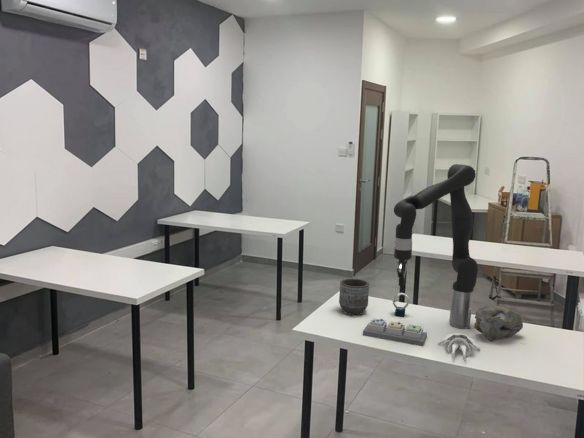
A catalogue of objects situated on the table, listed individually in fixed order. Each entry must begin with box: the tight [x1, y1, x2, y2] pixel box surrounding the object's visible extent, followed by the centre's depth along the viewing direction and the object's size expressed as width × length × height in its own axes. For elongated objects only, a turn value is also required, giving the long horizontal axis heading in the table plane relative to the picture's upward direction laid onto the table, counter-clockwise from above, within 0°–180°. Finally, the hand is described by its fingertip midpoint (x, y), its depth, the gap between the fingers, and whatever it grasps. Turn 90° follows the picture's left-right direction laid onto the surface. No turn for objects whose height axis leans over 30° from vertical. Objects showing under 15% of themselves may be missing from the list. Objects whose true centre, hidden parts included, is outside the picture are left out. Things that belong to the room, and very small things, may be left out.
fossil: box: [473, 304, 524, 342], centre depth 229 cm, size 14×22×15 cm, turn 123°
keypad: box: [362, 318, 428, 347], centre depth 226 cm, size 26×11×4 cm, turn 68°
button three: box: [370, 317, 385, 326], centre depth 229 cm, size 5×5×4 cm
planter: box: [338, 277, 370, 316], centre depth 254 cm, size 14×14×15 cm
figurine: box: [437, 332, 481, 362], centre depth 214 cm, size 17×9×25 cm
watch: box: [392, 292, 410, 318], centre depth 252 cm, size 6×8×11 cm
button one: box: [407, 324, 422, 333], centre depth 223 cm, size 5×5×4 cm
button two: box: [388, 320, 403, 330], centre depth 226 cm, size 5×5×4 cm
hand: (401, 285), depth 229 cm, fingers closed
